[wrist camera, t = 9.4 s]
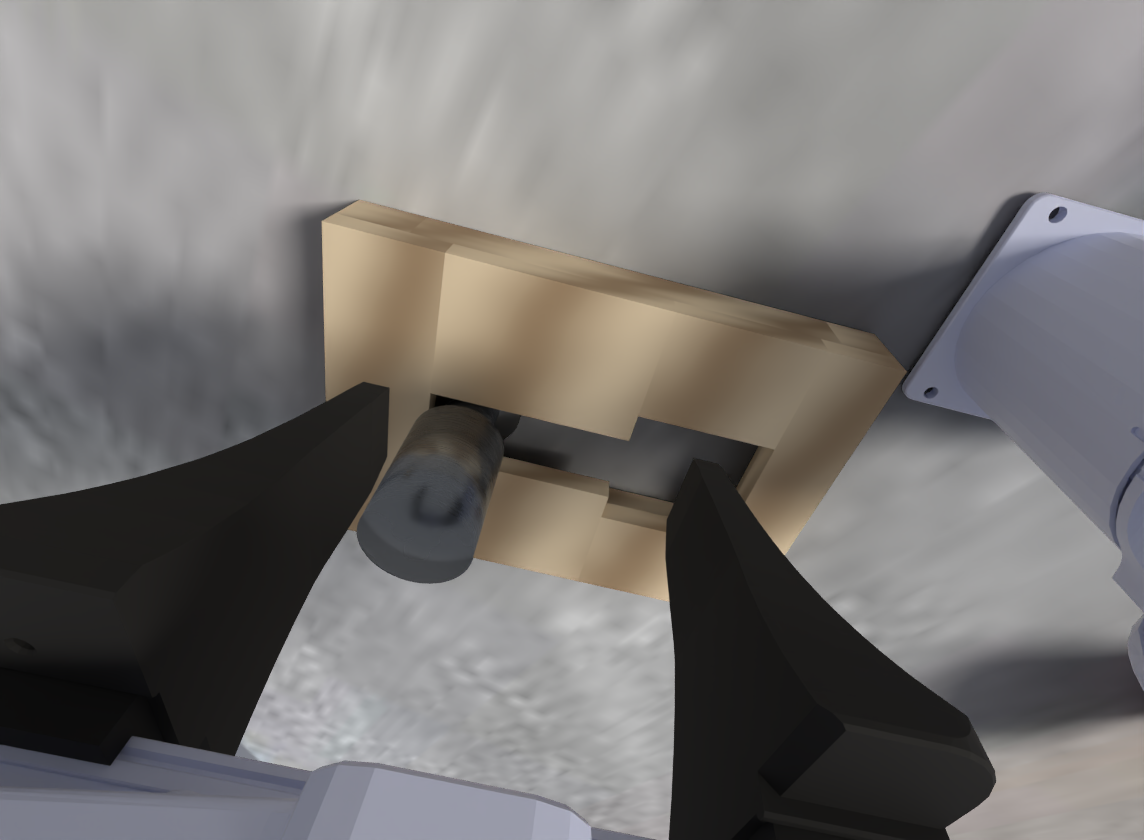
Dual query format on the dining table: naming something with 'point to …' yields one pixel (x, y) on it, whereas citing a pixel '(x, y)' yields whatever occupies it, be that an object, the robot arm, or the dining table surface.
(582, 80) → the dining table surface
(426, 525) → the key peg
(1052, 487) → the dining table surface
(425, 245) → the keyhole plate
